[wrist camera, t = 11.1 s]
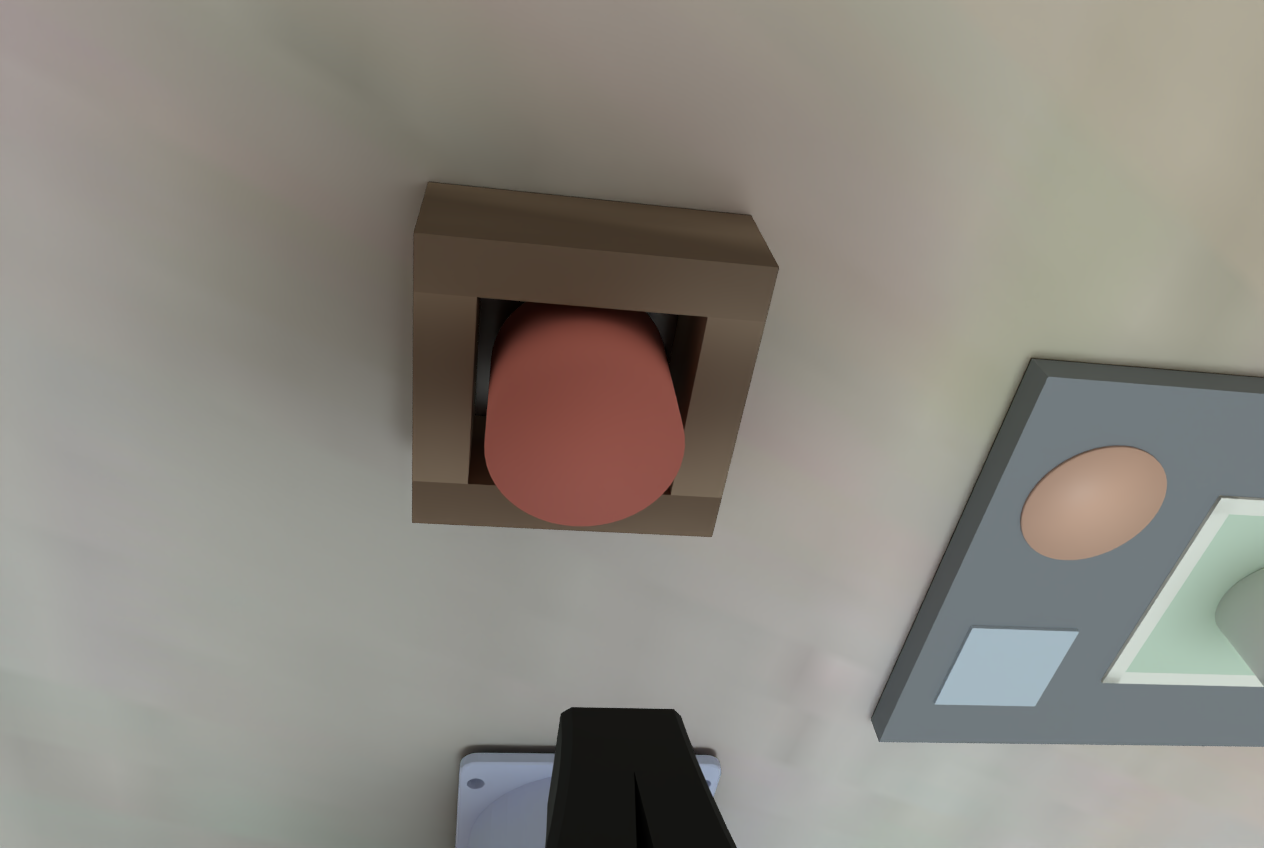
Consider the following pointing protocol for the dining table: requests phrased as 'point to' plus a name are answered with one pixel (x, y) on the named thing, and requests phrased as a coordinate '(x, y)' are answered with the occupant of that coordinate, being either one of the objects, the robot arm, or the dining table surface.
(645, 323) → the button
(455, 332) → the button box
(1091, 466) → the picture board
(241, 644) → the dining table surface
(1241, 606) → the pale green cylinder
